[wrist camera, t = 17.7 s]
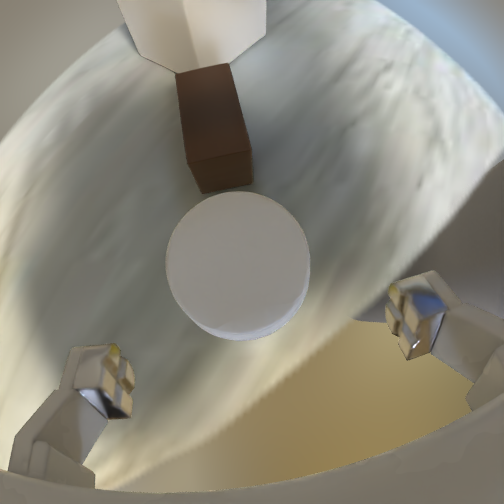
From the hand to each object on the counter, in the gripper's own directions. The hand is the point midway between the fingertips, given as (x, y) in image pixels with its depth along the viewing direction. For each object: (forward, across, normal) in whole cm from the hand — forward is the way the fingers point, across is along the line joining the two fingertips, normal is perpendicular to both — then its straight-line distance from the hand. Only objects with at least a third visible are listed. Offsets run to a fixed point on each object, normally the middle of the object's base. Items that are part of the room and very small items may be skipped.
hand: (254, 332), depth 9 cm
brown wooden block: (+13, 0, -2) cm, 13 cm away
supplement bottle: (+7, 0, +4) cm, 8 cm away
